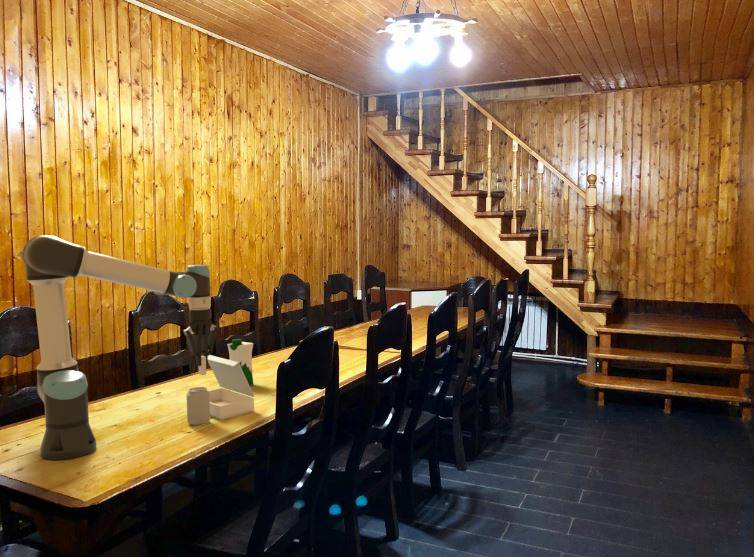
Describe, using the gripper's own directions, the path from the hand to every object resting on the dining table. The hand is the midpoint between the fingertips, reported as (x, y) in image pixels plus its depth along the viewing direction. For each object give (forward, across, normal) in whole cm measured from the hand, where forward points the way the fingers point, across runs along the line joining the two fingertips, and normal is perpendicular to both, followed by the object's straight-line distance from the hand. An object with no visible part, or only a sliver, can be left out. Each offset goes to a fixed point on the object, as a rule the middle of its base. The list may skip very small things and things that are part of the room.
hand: (202, 374), depth 225 cm
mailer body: (+15, +7, 0) cm, 16 cm away
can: (+15, -7, -8) cm, 18 cm away
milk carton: (+15, +32, +25) cm, 44 cm away
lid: (+3, +9, 0) cm, 9 cm away
